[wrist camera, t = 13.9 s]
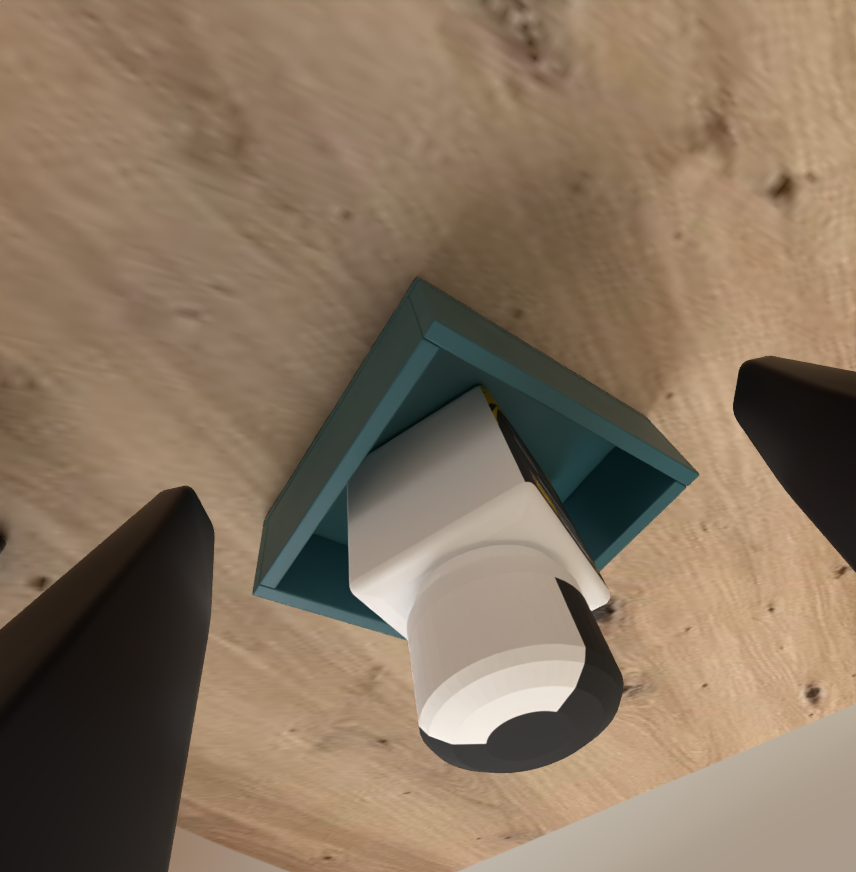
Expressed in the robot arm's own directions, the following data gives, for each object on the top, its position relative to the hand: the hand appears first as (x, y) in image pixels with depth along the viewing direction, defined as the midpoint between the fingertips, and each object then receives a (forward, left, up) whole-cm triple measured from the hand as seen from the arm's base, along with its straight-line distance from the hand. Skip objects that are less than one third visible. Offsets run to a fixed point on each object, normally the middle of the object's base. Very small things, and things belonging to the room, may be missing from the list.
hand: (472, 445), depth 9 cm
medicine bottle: (-6, -9, -13) cm, 16 cm away
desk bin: (-5, -9, -13) cm, 17 cm away
